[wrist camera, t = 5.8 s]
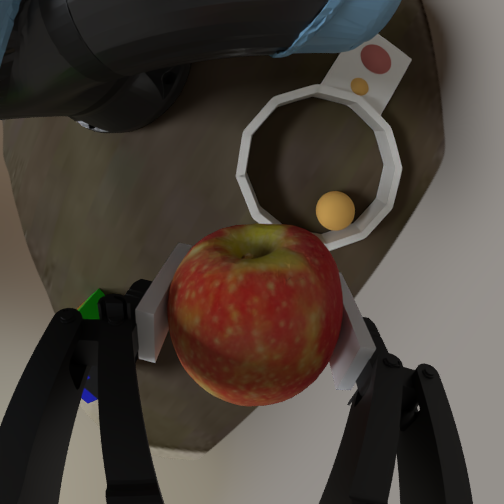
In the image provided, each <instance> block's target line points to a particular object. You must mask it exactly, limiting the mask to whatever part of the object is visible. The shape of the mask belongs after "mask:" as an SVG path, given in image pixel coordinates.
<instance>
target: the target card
mask: <svg viewBox="0 0 504 504" xmlns="http://www.w3.org/2000/svg"><path fill="white" fill-rule="evenodd" d="M411 60H412V59H411V58H409V57H408V56H407V55H406V54H404V53H403V52H402V51H401V50H399V49H398V48H397V47H395V46H394V45H393V44H391V43H390V42H389V41H387V40H386V39H385V38H383V37H382V36H380V35H379V34H377V35H376V36H375V37H373V38H372V39H371V40H369V41H367V42H364V43H363V44H361V45H360V46H358V47H357V48H355V49H353V50H350V51H347V52H341V53H340V54H339V56H338V57H337V59H336V60H335V62H334V64H333V65H332V67H331V68H330V70H329V71H328V73H327V75H326V76H325V78H324V79H323V81H322V83H321V84H320V85H323V86H327V87H331V88H335V89H339V90H342V91H346V92H349V93H353V94H356V95H359V96H361V97H362V98H363V99H364V100H365V101H366V102H367V103H368V104H369V105H370V106H371V107H372V108H373V109H374V110H375V111H376V112H377V113H378V114H379V115H380V116H381V114H382V112H383V110H384V109H385V107H386V105H387V103H388V102H389V100H390V98H391V96H392V95H393V93H394V91H395V89H396V88H397V86H398V84H399V82H400V80H401V79H402V77H403V75H404V73H405V71H406V70H407V68H408V66H409V64H410V62H411ZM347 106H348V107H350V108H352V107H351V106H349V105H347Z"/></svg>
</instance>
